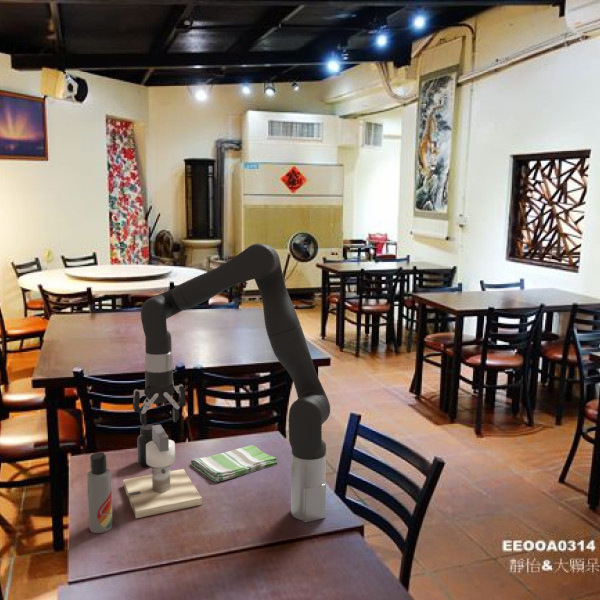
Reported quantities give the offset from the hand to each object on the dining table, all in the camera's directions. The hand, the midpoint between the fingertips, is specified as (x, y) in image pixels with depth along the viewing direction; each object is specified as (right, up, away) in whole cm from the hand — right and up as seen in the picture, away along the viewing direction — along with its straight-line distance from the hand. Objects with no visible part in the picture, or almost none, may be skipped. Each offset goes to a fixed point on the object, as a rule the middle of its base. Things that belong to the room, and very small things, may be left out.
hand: (160, 423), depth 166 cm
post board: (0, -21, +3) cm, 22 cm away
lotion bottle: (-12, -24, -14) cm, 30 cm away
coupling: (0, -11, +2) cm, 11 cm away
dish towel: (+18, -19, +24) cm, 36 cm away
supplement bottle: (-9, -18, +24) cm, 32 cm away
